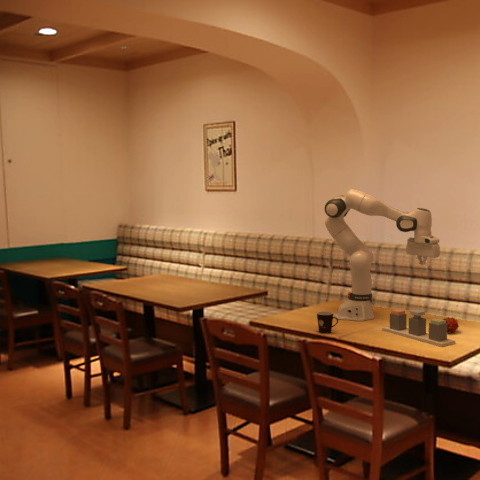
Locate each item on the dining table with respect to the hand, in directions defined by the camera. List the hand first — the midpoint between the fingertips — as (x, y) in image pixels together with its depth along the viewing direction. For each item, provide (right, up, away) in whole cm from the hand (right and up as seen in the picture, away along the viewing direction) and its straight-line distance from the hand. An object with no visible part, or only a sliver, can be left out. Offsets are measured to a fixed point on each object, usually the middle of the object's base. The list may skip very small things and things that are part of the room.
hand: (422, 264), depth 331 cm
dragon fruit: (+10, -35, -13) cm, 38 cm away
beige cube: (-9, -27, -22) cm, 36 cm away
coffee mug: (-53, -35, -9) cm, 64 cm away
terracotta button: (-16, -28, -11) cm, 34 cm away
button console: (-9, -36, -21) cm, 42 cm away
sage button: (-2, -30, -32) cm, 44 cm away
